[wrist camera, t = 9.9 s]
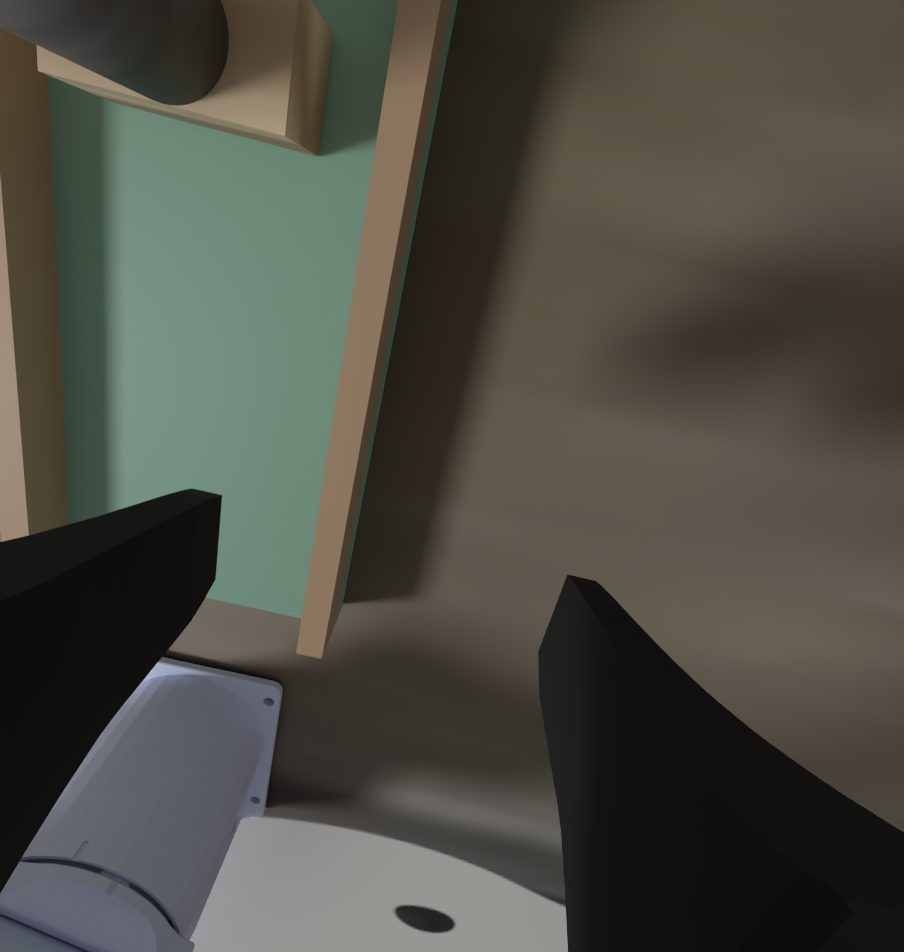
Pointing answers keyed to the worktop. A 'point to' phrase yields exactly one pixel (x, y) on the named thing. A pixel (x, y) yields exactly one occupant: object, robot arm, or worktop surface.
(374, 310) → the pitch
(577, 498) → the worktop surface
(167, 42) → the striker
